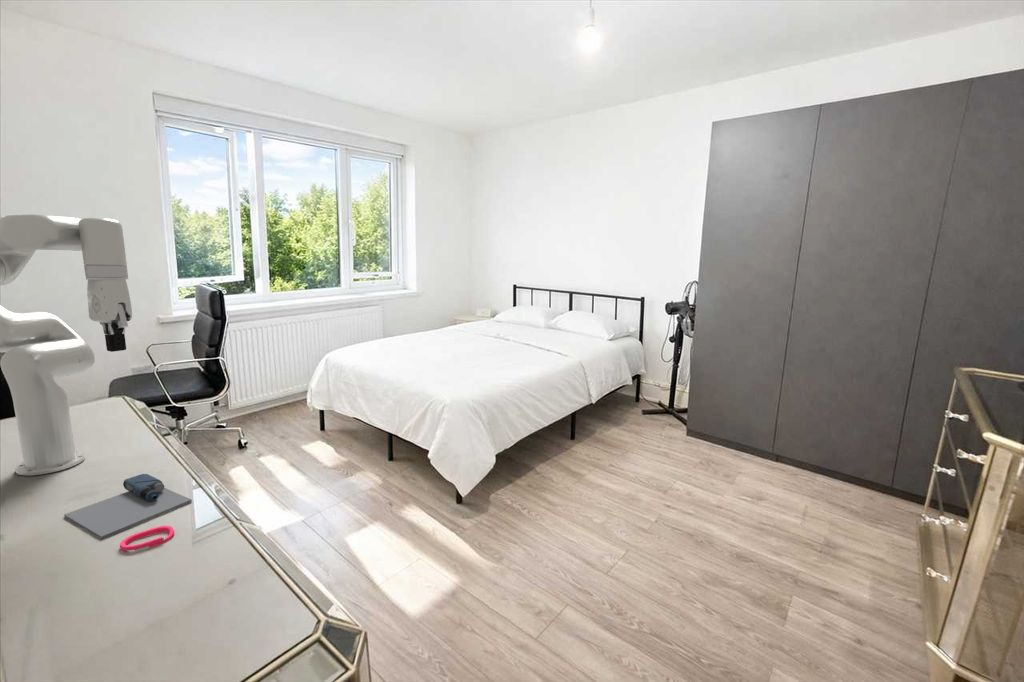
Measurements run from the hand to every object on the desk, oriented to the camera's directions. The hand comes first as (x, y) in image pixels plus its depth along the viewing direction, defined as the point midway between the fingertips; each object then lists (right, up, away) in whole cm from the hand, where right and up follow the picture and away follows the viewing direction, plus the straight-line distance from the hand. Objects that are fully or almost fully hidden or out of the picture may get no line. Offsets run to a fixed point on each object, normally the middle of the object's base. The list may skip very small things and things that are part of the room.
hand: (116, 350), depth 110 cm
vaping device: (+7, -30, -3) cm, 31 cm away
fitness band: (+25, -36, -22) cm, 50 cm away
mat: (+13, -34, -12) cm, 38 cm away
